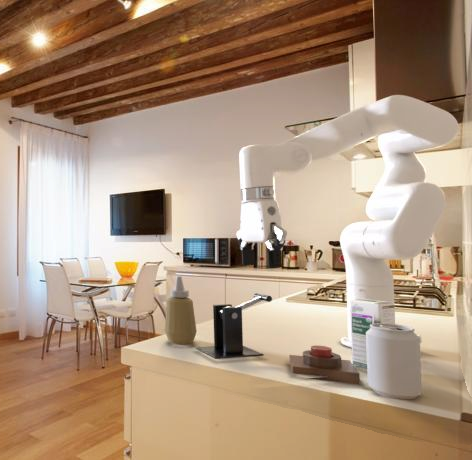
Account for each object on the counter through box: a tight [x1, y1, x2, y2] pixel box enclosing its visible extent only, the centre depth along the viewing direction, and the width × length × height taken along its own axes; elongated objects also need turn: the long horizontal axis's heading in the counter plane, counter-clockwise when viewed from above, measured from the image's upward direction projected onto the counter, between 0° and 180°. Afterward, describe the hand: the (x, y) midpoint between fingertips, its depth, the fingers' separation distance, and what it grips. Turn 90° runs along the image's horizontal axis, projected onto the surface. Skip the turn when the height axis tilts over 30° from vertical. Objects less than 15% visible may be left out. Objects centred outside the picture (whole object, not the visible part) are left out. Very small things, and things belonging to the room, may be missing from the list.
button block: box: [288, 349, 361, 385], centre depth 84 cm, size 11×9×4 cm
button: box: [310, 345, 333, 358], centre depth 84 cm, size 4×4×2 cm
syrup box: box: [350, 299, 396, 369], centre depth 86 cm, size 6×6×14 cm
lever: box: [218, 292, 273, 320], centre depth 99 cm, size 12×5×2 cm, turn 99°
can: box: [366, 323, 423, 400], centre depth 74 cm, size 8×8×12 cm
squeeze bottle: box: [164, 276, 197, 345], centre depth 109 cm, size 8×8×18 cm
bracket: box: [195, 303, 264, 360], centre depth 99 cm, size 12×9×12 cm
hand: (261, 266), depth 100 cm, fingers open, 9 cm apart
